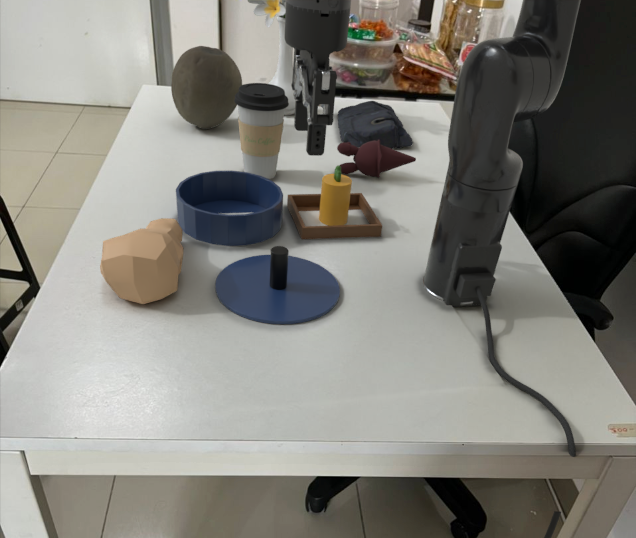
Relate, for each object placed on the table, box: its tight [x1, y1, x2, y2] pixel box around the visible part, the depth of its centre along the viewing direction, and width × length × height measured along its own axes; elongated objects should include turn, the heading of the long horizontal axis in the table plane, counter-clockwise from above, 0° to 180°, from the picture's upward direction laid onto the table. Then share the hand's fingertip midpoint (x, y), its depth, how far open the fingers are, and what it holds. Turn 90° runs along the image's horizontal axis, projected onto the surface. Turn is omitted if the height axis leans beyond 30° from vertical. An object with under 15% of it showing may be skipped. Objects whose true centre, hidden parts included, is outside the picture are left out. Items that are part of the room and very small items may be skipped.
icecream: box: [336, 140, 417, 179], centre depth 122 cm, size 7×7×15 cm
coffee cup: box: [234, 82, 289, 180], centre depth 115 cm, size 9×9×15 cm
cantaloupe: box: [170, 45, 243, 130], centre depth 132 cm, size 14×14×15 cm
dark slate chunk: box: [337, 100, 414, 150], centre depth 141 cm, size 15×22×5 cm
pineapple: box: [318, 164, 353, 226], centre depth 104 cm, size 5×5×9 cm
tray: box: [286, 192, 384, 240], centre depth 107 cm, size 12×13×2 cm
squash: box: [99, 217, 184, 305], centre depth 89 cm, size 11×20×9 cm, turn 0°
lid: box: [214, 245, 341, 325], centre depth 88 cm, size 17×17×7 cm
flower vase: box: [247, 0, 297, 116], centre depth 140 cm, size 13×18×25 cm
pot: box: [175, 170, 284, 247], centre depth 103 cm, size 17×17×6 cm
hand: (308, 141), depth 85 cm, fingers open, 8 cm apart
